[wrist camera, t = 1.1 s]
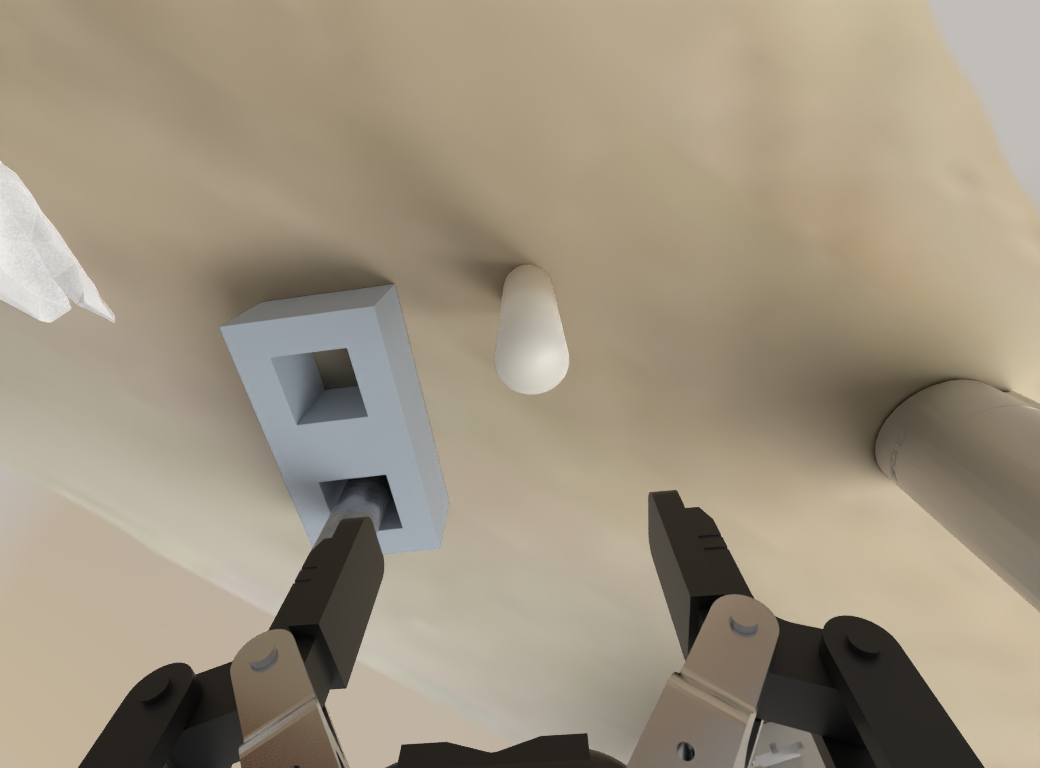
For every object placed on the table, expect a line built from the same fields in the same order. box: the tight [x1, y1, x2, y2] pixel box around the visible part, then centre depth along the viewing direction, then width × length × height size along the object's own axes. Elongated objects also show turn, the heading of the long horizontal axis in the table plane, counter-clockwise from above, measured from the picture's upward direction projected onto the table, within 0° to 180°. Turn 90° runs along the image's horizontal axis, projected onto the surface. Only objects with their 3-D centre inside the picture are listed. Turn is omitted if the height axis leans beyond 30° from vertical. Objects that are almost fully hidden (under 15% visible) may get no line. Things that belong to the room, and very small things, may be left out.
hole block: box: [219, 284, 449, 554], centre depth 33 cm, size 9×18×5 cm, turn 8°
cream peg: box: [495, 264, 569, 395], centre depth 26 cm, size 3×3×12 cm
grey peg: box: [301, 475, 392, 571], centre depth 32 cm, size 3×3×12 cm
